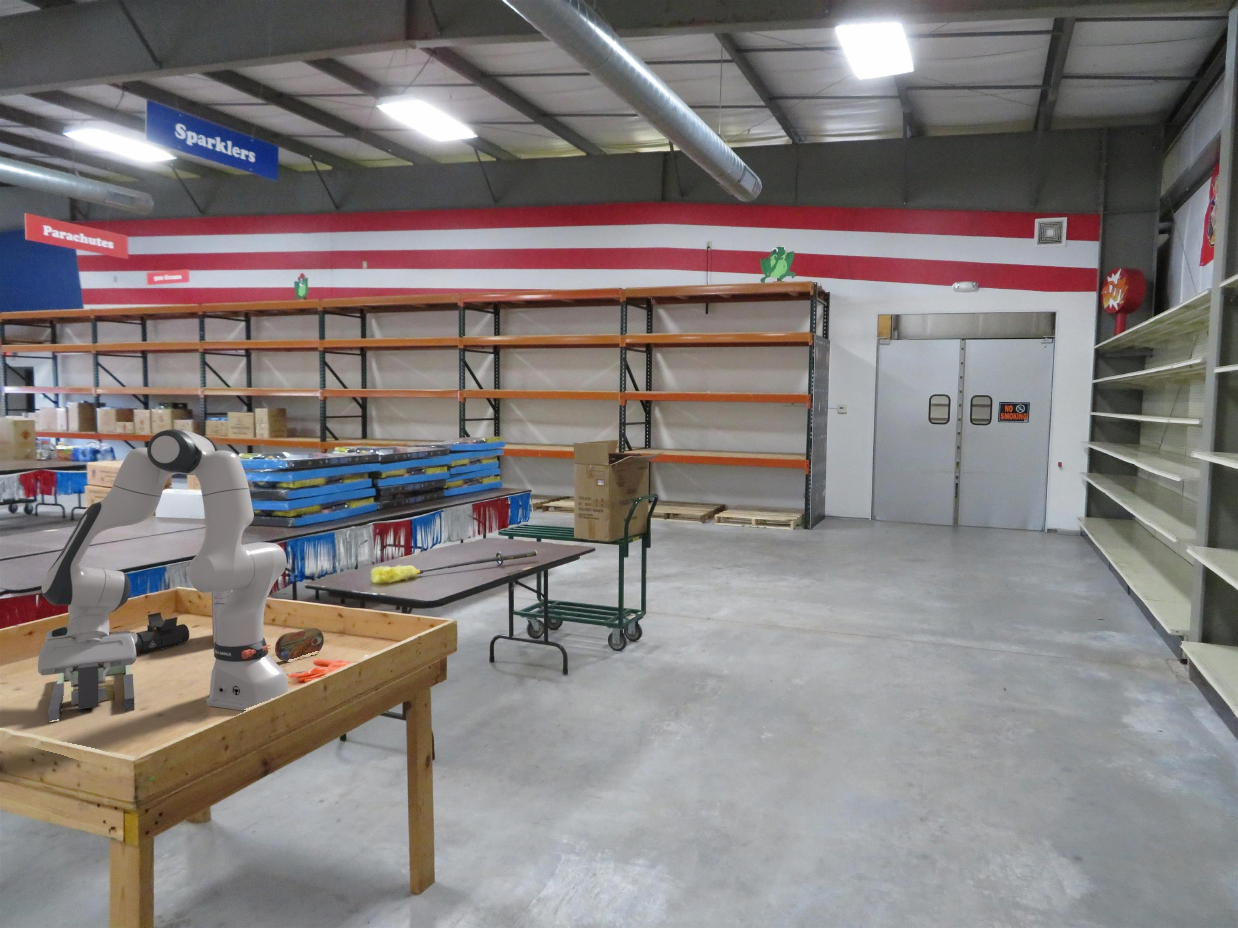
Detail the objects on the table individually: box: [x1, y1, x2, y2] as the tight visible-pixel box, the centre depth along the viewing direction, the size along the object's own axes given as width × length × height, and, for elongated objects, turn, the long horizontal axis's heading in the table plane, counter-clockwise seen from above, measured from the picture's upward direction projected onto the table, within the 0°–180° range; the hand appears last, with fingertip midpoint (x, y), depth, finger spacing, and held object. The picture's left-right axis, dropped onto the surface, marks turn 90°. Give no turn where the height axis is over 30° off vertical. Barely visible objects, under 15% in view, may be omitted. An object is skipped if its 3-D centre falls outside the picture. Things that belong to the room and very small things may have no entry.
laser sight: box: [135, 612, 190, 655], centre depth 238 cm, size 10×22×10 cm, turn 149°
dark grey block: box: [70, 662, 107, 710], centre depth 192 cm, size 5×7×10 cm
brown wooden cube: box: [98, 679, 115, 702], centre depth 199 cm, size 4×4×4 cm
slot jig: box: [48, 673, 135, 722], centre depth 196 cm, size 20×17×3 cm
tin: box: [274, 627, 325, 662], centre depth 235 cm, size 15×3×8 cm, turn 146°
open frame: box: [56, 665, 132, 684], centre depth 210 cm, size 13×16×3 cm
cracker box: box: [211, 590, 232, 647], centre depth 251 cm, size 14×6×21 cm, turn 24°
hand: (88, 683), depth 191 cm, fingers closed on dark grey block, 4 cm apart
